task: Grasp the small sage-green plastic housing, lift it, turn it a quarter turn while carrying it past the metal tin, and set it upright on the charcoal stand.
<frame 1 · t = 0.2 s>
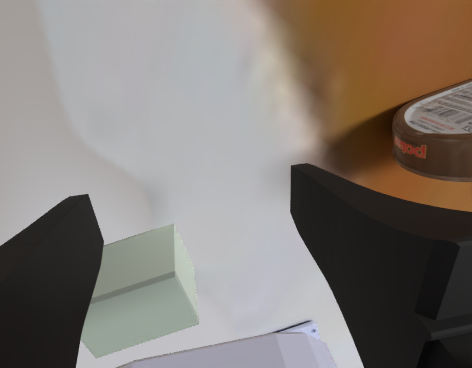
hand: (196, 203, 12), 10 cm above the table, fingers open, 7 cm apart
housing: (140, 259, 25), on the table
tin: (466, 91, 23), on the table
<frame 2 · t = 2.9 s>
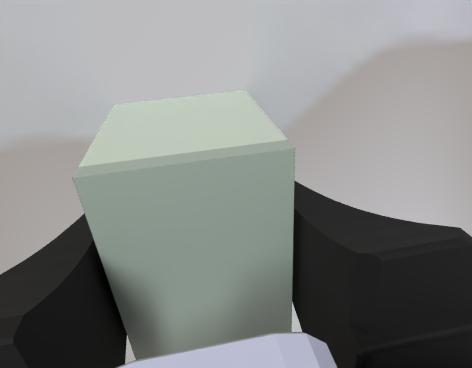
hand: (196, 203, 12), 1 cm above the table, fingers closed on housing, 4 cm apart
housing: (194, 184, 13), on the table, touching gripper
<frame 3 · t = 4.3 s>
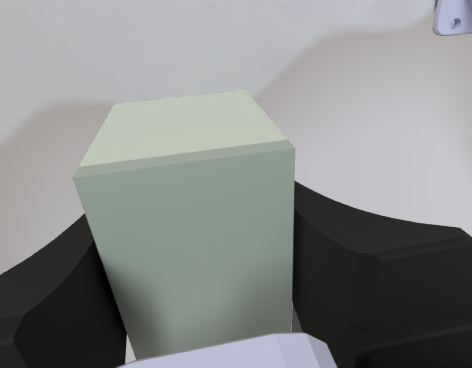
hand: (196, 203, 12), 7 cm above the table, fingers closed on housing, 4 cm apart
housing: (194, 184, 13), point 5 cm above the table, touching gripper
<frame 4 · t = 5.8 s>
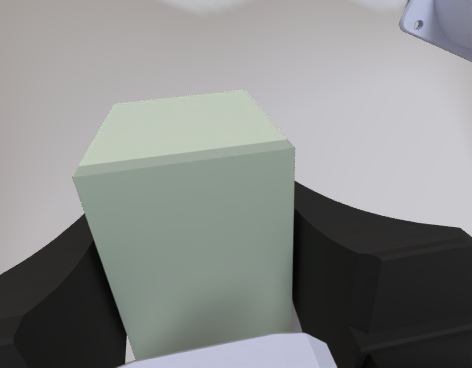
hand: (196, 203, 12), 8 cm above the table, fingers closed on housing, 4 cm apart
housing: (194, 184, 13), point 7 cm above the table, touching gripper
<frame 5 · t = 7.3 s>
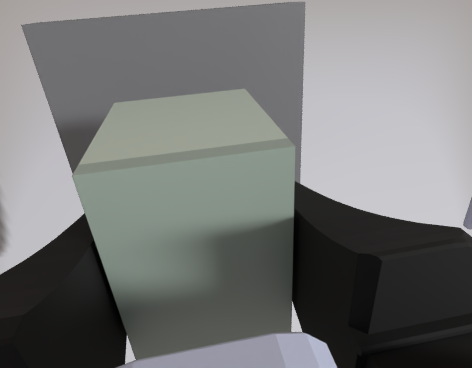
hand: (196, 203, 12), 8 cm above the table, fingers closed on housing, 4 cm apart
housing: (194, 183, 13), point 6 cm above the table, touching gripper
stand: (187, 131, 19), on the table
when the fingers open (4 cm above the table, at t = 8.8 s): housing stays where it is, resting on stand.
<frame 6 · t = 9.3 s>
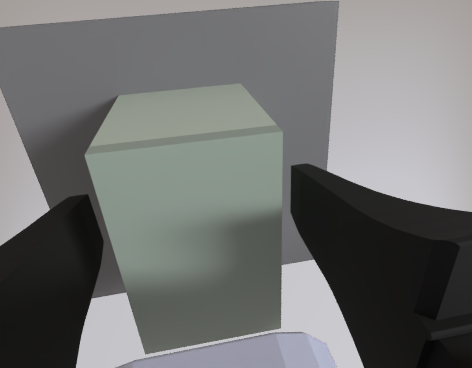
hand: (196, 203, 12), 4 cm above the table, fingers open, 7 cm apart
housing: (192, 173, 14), point 2 cm above the table, touching stand
stand: (190, 155, 16), on the table
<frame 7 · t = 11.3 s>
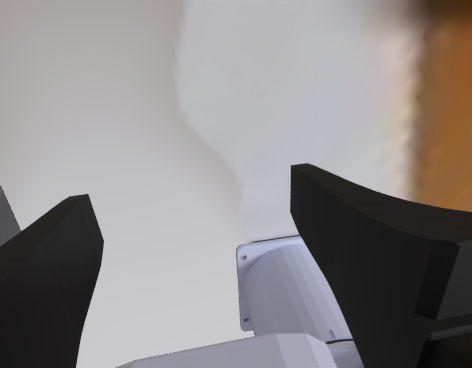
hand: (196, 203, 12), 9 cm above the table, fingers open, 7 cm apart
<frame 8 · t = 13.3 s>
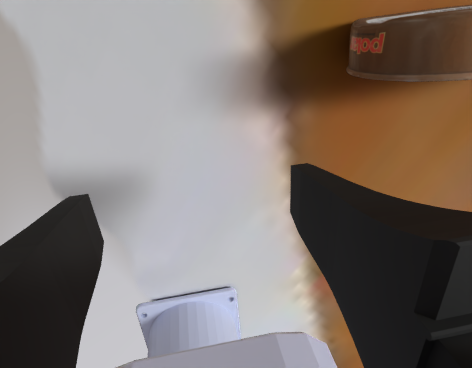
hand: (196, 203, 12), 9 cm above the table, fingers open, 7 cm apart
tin: (438, 26, 20), on the table
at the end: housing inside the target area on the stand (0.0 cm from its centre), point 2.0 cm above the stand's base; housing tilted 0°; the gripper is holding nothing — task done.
